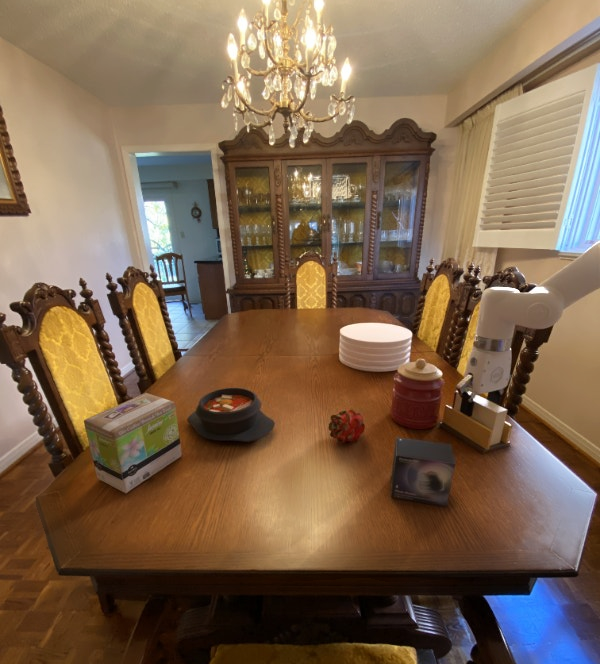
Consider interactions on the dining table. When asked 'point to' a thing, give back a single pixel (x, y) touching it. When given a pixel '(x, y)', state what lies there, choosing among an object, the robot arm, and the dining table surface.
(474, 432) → the rack
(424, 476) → the small box
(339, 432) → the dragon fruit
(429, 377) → the kitchen canister
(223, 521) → the dining table surface
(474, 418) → the book
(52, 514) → the dining table surface
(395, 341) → the plate stack
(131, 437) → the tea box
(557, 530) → the dining table surface
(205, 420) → the casserole
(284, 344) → the dining table surface
